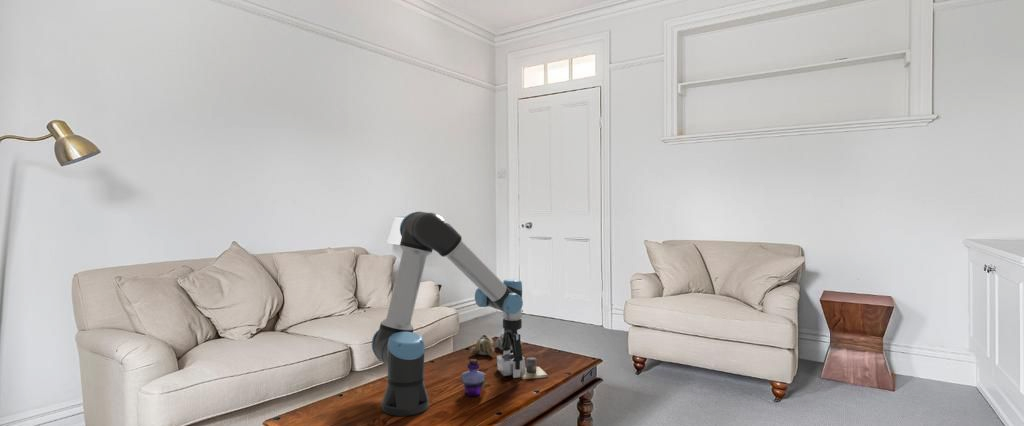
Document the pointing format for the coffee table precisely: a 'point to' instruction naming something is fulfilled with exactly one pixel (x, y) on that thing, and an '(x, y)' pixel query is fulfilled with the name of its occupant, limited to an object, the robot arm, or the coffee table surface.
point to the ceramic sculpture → (483, 346)
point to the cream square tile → (532, 370)
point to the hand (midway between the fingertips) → (511, 371)
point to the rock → (499, 342)
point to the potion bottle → (473, 379)
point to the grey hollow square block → (508, 364)
